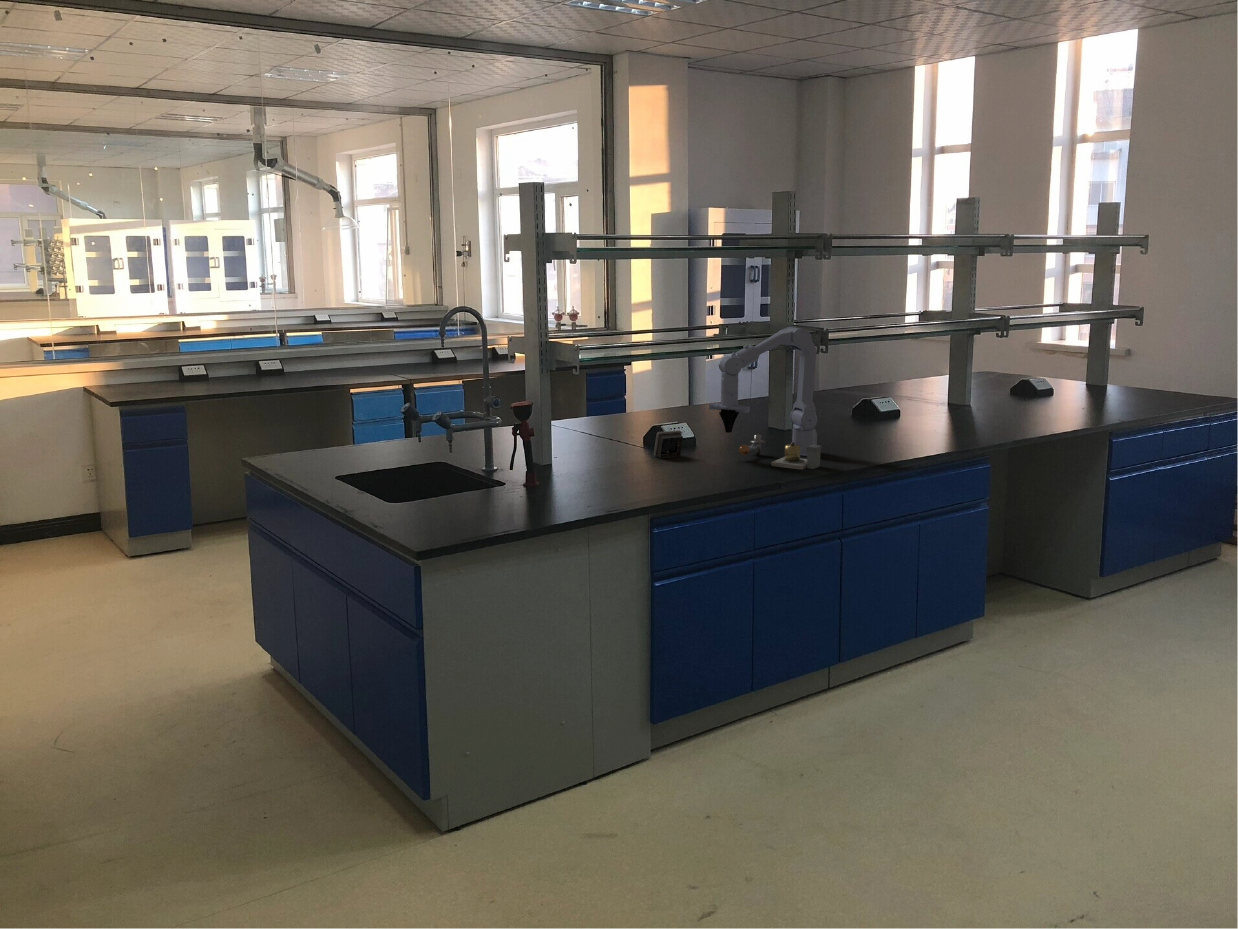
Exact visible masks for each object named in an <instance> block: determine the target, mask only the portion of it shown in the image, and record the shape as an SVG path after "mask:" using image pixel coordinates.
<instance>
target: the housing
mask: <svg viewBox="0 0 1238 929" xmlns="http://www.w3.org/2000/svg"><path fill="white" fill-rule="evenodd" d="M784 457H785V461H788V462H798V461H800V458H801V455H800V445H797V444H795V443H794V442H792V441H791V442H790V443H787V444H785V445H784Z"/></svg>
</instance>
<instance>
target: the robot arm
mask: <svg viewBox="0 0 1238 929" xmlns="http://www.w3.org/2000/svg"><path fill="white" fill-rule="evenodd" d="M779 346H789V347H790V348H793V349H794V350H795V351H796V352H797V353H798V354H799V366H798V378H797V390H796V391H797V392H796V393H797V394H796V395H797V396H796V400H795V402H793V405H792V406H793V407H792V410H791V412H790V413H789V414H790V415H789V419H790V422H791V423H792V438H791V439H792V441H791V442H794V443H795V444H797V445H800V456H803V457H807V447H808V446H810V445H818V431H816V429H815V427H816V426H817V424H818V416H817V413H816V412H817V407H816V406H815V403H814V387H815V375H816V362H817V347H816V345H815V343H814V341H813V339H812V334H811V333H810V332H809V331H808V330H807V329H805V328H802V327H794V326H787V327H785V328H783V329H779V331H778V332H776V333H774V334H772V335H771V336H770V337H768V338H766V339H764V340H763V341H761V342H760V343H757V345H755V346H754V345H752V344H749V345H747V344H745V345H743V346H742V347H743V348H742V349H740V350H737V351H736V352H732V353H731V354H730V355H731V356H730V355H727V356H724V357H722V358H721V360H720V362H719V364H718V368H719V371H721V375H720V376H721V380H720V384H721V385H720V403H716V402H714V403H713V402H711V403H709V404H708V409H709V410H715V411H720V412H718V414H719V416H720V418H721V420H722V423H723V426H724V430H725V433H728V434H729V433H732V432H733V428H734V425H735V422H736V419H737V417H738V416H739V414H740V413H744V414H749V413H750V412H751V406H747V405H740V404H739V374H740V372H741V370H742V369H744V368H746V367H748V366H749V365H751V364H754V363H755V362H756V361H758V360H759V359H760V356H761V355H762V354H765V353H766V352H768V351H770V350H773V349H775V348H776V347H779Z"/></svg>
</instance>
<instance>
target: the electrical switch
mask: <svg viewBox="0 0 1238 929" xmlns="http://www.w3.org/2000/svg"><path fill="white" fill-rule="evenodd" d="M682 434H683V432H682V431H681V430H680V429H678V430H669V431H667V430H666V431H657V433H656V436H655V441H654V442H655V444H654V450H653V456H654V458H659V459H670V458H672V459H673V458H680V457H681V453H682V446H683V441H684V436H683V435H682Z"/></svg>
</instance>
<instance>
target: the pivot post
mask: <svg viewBox="0 0 1238 929" xmlns="http://www.w3.org/2000/svg"><path fill="white" fill-rule="evenodd" d="M749 443H750V444H751V445H752V444H756V445H757V448H756V449H754V450H753V456H755V457H761V455H762V454H761V453H762V445H763V444H765V443H766V441H765V440H763V439H762V434H753V439H750V442H749Z"/></svg>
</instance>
